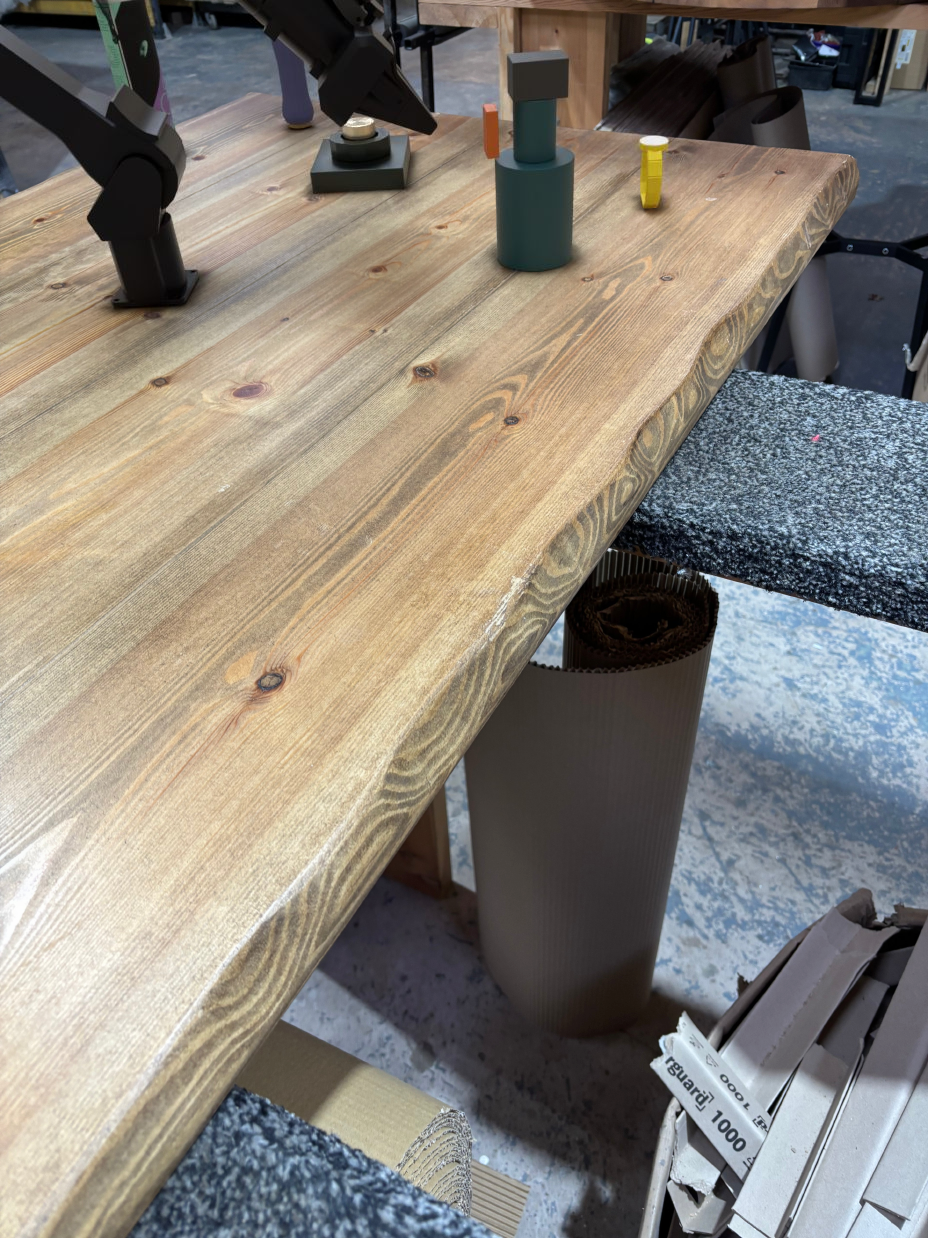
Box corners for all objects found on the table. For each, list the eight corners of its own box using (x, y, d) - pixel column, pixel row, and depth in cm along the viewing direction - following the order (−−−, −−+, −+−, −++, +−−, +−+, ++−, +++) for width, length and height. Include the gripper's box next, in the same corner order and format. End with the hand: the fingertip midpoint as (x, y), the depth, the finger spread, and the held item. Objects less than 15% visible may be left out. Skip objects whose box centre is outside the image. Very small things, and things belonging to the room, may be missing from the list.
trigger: (487, 158, 78) (486, 111, 75) (484, 150, 80) (482, 103, 77) (499, 157, 78) (498, 110, 75) (495, 149, 80) (494, 102, 77)
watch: (631, 193, 96) (636, 130, 92) (659, 192, 95) (664, 129, 91) (637, 214, 91) (642, 149, 87) (666, 213, 91) (672, 148, 87)
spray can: (175, 163, 111) (125, -40, 98) (130, 165, 111) (74, -37, 98) (186, 149, 115) (140, -48, 102) (143, 151, 115) (91, -45, 102)
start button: (374, 142, 101) (372, 125, 100) (341, 144, 101) (339, 127, 100) (377, 133, 104) (375, 115, 102) (345, 134, 104) (343, 117, 103)
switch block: (405, 189, 100) (401, 149, 98) (313, 193, 101) (306, 154, 98) (410, 154, 109) (407, 116, 106) (326, 158, 109) (320, 121, 107)
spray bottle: (502, 274, 82) (497, 69, 72) (492, 245, 87) (486, 49, 76) (578, 267, 83) (585, 62, 72) (564, 238, 88) (568, 43, 77)
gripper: (342, -111, 59) (518, 72, 66) (339, -134, 72) (485, 20, 80) (243, 44, 64) (418, 197, 72) (258, -5, 77) (403, 128, 85)
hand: (434, 129), depth 77 cm, fingers closed
